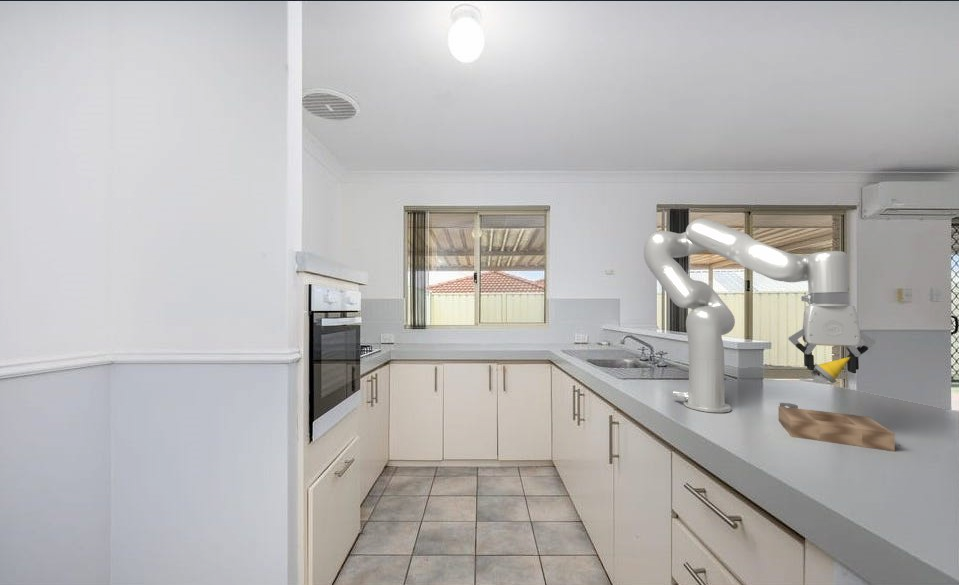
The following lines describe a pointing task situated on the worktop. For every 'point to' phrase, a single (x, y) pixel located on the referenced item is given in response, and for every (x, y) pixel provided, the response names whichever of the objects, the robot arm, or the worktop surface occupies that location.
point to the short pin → (788, 405)
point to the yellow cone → (828, 370)
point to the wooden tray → (836, 428)
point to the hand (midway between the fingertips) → (830, 370)
